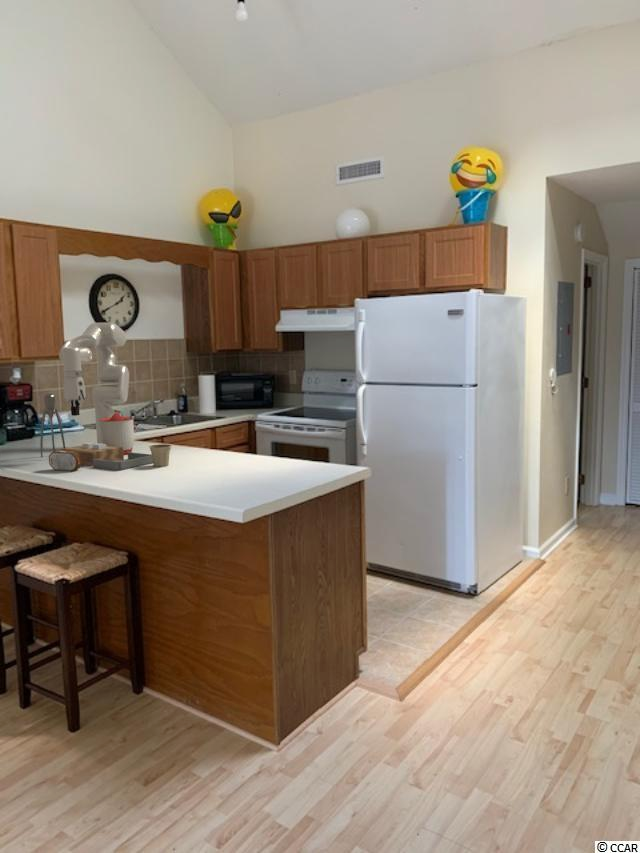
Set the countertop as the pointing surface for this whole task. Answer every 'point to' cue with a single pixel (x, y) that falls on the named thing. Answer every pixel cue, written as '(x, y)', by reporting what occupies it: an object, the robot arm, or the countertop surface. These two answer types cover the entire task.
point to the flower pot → (160, 454)
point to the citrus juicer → (118, 432)
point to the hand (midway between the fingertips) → (75, 415)
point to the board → (97, 454)
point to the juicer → (50, 406)
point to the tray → (125, 462)
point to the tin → (64, 460)
